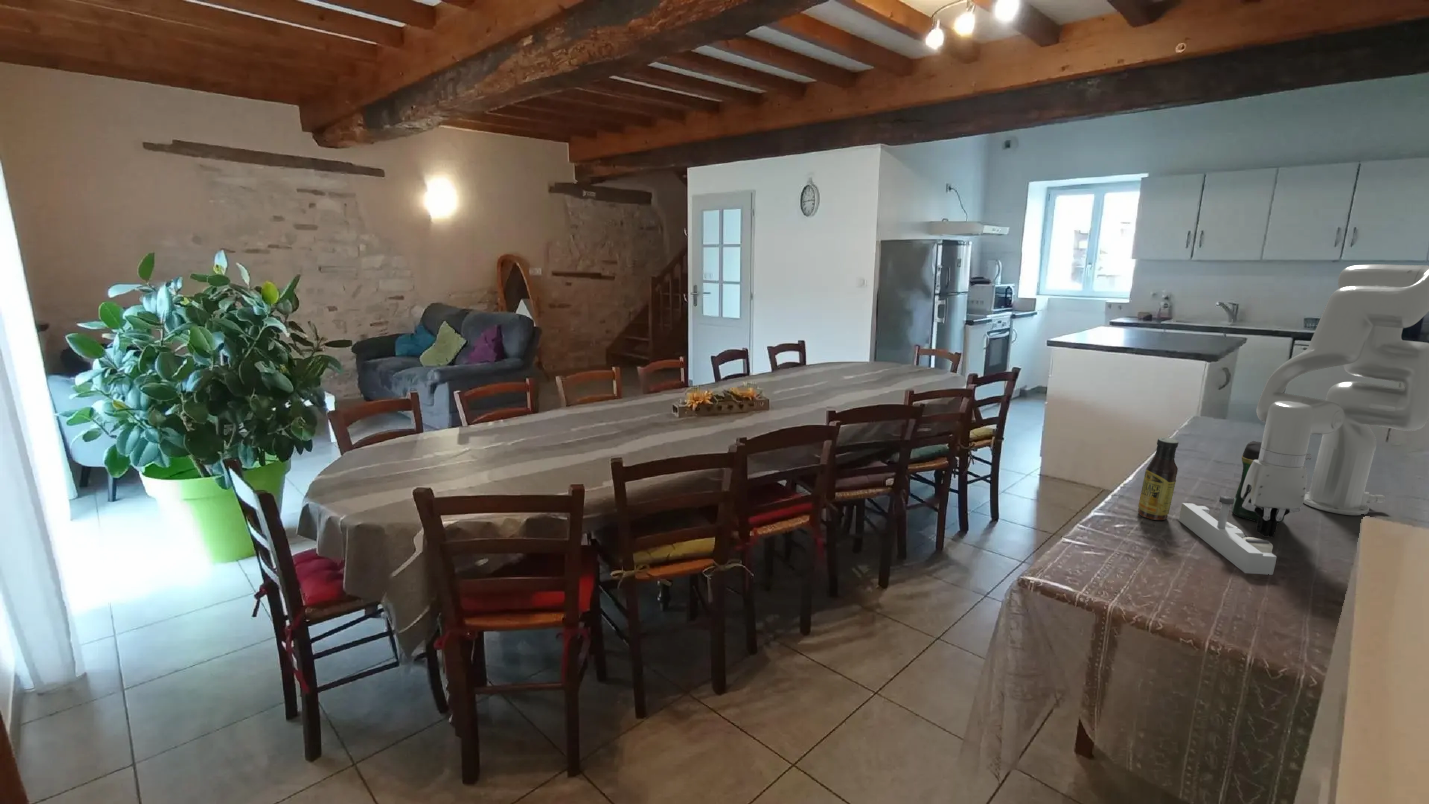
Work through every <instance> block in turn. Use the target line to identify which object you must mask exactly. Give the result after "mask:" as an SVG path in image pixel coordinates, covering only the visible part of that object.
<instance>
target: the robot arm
mask: <svg viewBox="0 0 1429 804" xmlns="http://www.w3.org/2000/svg"><path fill="white" fill-rule="evenodd" d="M1337 282H1338V283H1337V285H1338V289H1336V290H1335V291H1333V292H1332V293H1331V295H1330V296H1329V298H1328V300H1327V303H1326V305H1325V308H1324V309H1323V312H1322V313H1321V317H1320V319H1319V320H1318V324H1317V325H1316V328H1315V330H1314V332H1313V334H1312V337H1311V340H1310V342H1309V345H1308V346H1307V348H1306V349H1305V350H1304V351H1302V352H1301V353H1299V354H1297V355H1295V356H1293V357H1291V358H1289V359H1288V360H1286V361H1285V362H1283V363H1282V364H1281V365H1280V366H1278V367H1277V368H1276V369H1275V370H1274V371H1273V372H1272V373H1271V375H1270V376H1269V377H1268V378H1267V380H1266V383H1265V385H1264V387H1263V390H1262V391H1261V394H1260V397H1259V399H1258V402H1257V406H1256V410H1255V411H1256V412H1255V413H1256V416H1257V418H1258V419H1259V420H1260V421H1261V422H1263V423H1265V426H1264V429H1263V430H1264V431H1263V434H1262V441H1261V442H1262V444H1261V449H1260V454H1259V458H1258V460H1254V461H1253V462H1252V464H1251V466H1250V468H1249V470H1248V472H1247V475H1246V478H1245V481H1244V484H1243V487H1242V491H1241V498H1242V499H1244V502H1243V504H1242V507H1243V508H1245V509H1247V510H1250V511H1254V512H1255V513H1256V514H1257V515H1258V516H1259V517H1258V522H1257V521H1256V525H1255V526H1256V527H1255V529H1256V532H1257V533H1259V534H1260V535H1262V536H1263V537H1264V538H1268V537H1269V538H1274V536H1275V533H1276V532H1277V527H1278V525H1279V524H1278V521H1281V520H1282V518H1283V517H1284V518H1285V516H1287V515H1288V514H1293V513H1294V514H1295V513H1299V512H1300V511H1301V508H1302V506H1303V505H1304V504H1305V505H1307V506H1308V507H1312V508H1314V509H1317V510H1320V511H1324V512H1329V513H1333V514H1339V515H1345V516H1362V515H1361V514H1364V515H1367V514H1368V513H1369V511H1370V507H1369V505H1367V504H1370V503H1378V504H1379V503H1380V504H1382V503H1385V502H1386V496H1385V495H1383V494H1371V492H1369V491H1365V490H1366V486H1367V483H1368V479H1369V474H1370V471H1371V467H1372V465H1373V464H1372V463H1373V461H1374V460H1373V459H1374V455H1375V452H1376V449H1377V439H1376V436H1375V433H1374V432H1373V431H1372V429H1371V427H1370V426H1376V427H1381V428H1382V427H1383V428H1389V429H1394V430H1397V431H1398V430H1400V431H1405V432H1407V431H1408V432H1412V431H1413V432H1414V431H1415V432H1416V431H1418V430H1421V429H1422V428H1424V427H1425V426H1426V424H1427V422H1428V421H1429V342H1425V341H1424V342H1423V341H1416V340H1415V341H1413V340H1403V339H1402V334H1403V330H1404V329H1407V328H1410V327H1413V326H1414V325H1415V324H1417V323H1418V322H1420V321H1421V319H1423V318H1424V317H1425V316H1426V315H1427V313H1429V265H1425V264H1424V265H1418V264H1417V265H1416V264H1413V265H1412V264H1388V263H1387V264H1386V263H1385V264H1384V263H1383V264H1382V263H1381V264H1377V263H1376V264H1375V263H1374V264H1373V263H1372V264H1371V263H1370V264H1368V263H1367V264H1356V265H1351V266H1347V267H1345V268H1344V269H1342V270H1341V272H1340V273H1339V276H1338V279H1337ZM1341 366H1342V367H1343V369H1344V371H1345V372H1346V373H1347V374H1349V375H1352V376H1355V377H1360V378H1365V379H1373V380H1380V381H1388V382H1396V383H1400V384H1402V385H1403V386H1404V387H1398V386H1397V387H1396V386H1389V385H1384V384H1376V383H1370V382H1363V381H1342V382H1338V383H1335V384H1334V385H1332V386H1331V387H1329V389H1328V391H1327V393H1326V396H1325V399H1321V398H1315V397H1309V396H1305V395H1298V394H1292V393H1286V392H1285V390H1286V389H1287V387H1288V386H1289V384H1290V383H1291V382H1293V381H1294V380H1295V379H1297V378H1299V377H1301V376H1302V375H1305V374H1308V373H1310V372H1314V371H1318V370H1323V369H1328V368H1334V367H1341ZM1312 435H1322V437H1321V442H1320V444H1319V448H1318V453H1317V457H1316V462H1315V466H1314V468H1313V469H1314V470H1313V474H1312V479H1311V481H1310V482H1311V483H1310V487H1309V491H1307V485H1308V471H1307V466H1306V465H1305V463H1306V461H1308V460H1311V459H1312V454H1311V453H1308V448H1309V445H1310V444H1309V443H1310V441H1311V436H1312Z"/></svg>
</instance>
